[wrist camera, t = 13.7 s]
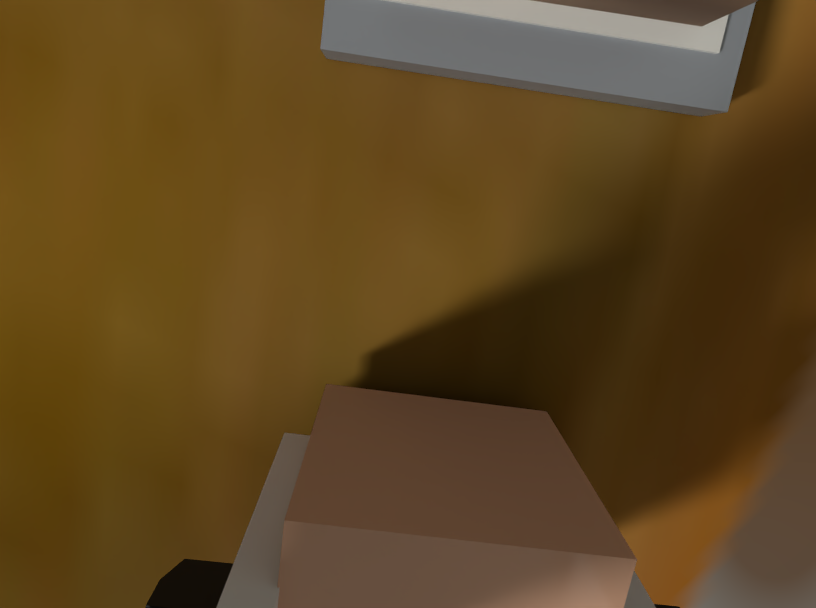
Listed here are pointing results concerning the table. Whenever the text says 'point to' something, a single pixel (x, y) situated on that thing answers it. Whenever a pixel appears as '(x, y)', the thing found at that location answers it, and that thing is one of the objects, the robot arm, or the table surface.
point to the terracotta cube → (445, 511)
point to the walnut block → (663, 8)
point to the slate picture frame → (546, 49)
